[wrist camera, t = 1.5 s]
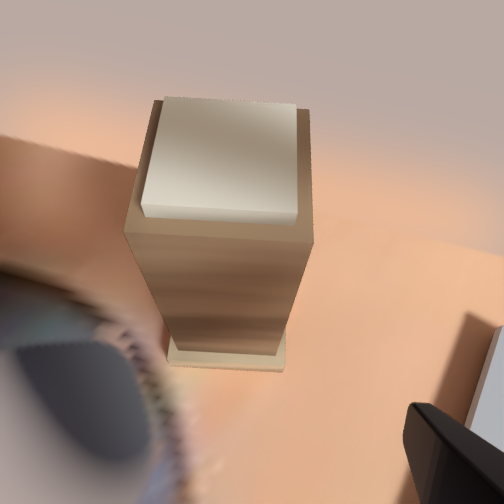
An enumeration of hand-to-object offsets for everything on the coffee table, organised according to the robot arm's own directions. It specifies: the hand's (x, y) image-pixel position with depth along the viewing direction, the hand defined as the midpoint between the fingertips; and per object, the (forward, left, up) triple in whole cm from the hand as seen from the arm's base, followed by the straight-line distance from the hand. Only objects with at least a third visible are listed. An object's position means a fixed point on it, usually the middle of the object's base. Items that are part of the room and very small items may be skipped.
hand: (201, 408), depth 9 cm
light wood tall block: (+6, +3, -13) cm, 14 cm away
